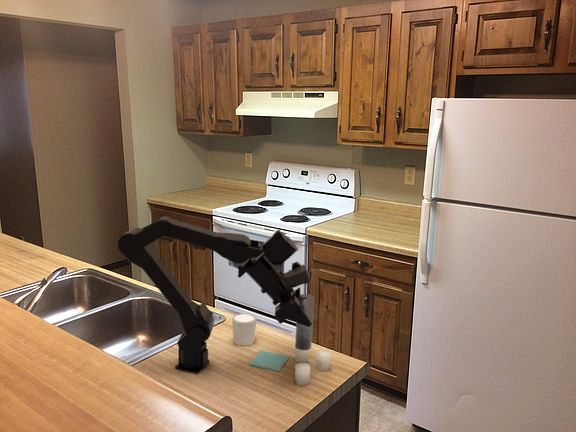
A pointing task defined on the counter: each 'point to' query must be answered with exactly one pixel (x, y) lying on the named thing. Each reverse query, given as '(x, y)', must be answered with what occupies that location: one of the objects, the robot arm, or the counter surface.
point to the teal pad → (269, 361)
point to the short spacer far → (323, 360)
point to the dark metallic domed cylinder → (303, 331)
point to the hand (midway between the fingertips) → (310, 321)
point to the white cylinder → (243, 329)
